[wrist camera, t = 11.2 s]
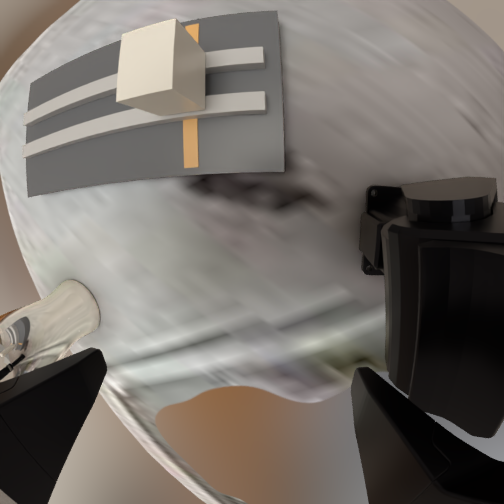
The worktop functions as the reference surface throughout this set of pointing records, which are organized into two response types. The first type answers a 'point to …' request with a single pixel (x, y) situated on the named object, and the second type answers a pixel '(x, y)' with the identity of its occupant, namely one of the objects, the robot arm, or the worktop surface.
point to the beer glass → (45, 329)
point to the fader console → (161, 127)
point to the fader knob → (161, 70)
